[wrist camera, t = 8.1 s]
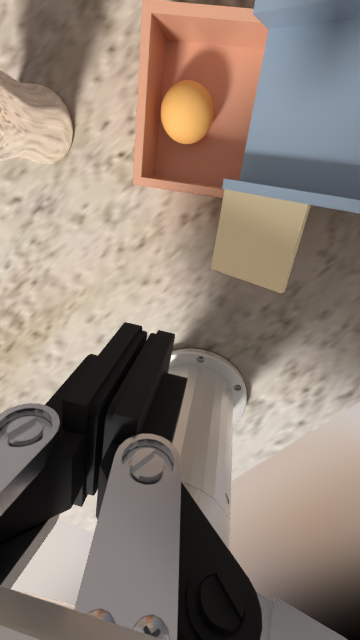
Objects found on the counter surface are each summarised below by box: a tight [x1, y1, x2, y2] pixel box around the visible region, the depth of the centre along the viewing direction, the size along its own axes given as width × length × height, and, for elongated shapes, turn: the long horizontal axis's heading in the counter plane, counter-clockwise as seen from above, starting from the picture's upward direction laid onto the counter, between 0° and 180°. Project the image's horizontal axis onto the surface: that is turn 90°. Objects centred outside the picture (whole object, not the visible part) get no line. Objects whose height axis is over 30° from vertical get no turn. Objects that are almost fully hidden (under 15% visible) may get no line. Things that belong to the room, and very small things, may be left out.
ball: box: [161, 80, 214, 144], centre depth 23 cm, size 4×4×4 cm
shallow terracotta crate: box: [133, 0, 268, 198], centre depth 23 cm, size 11×11×5 cm
